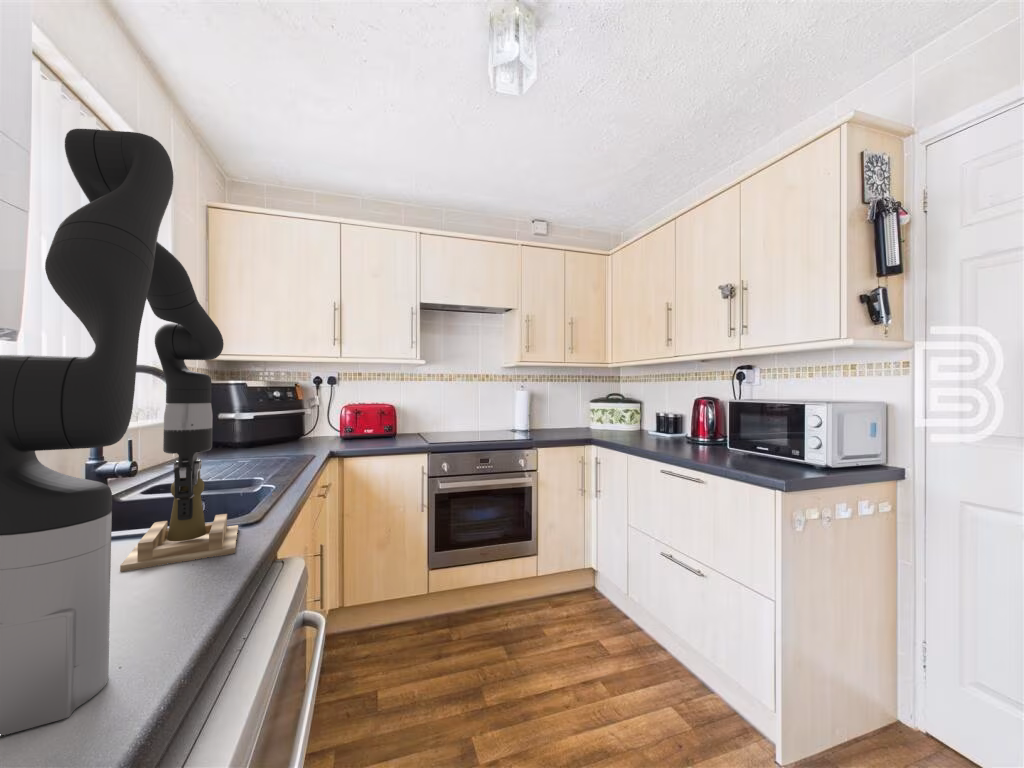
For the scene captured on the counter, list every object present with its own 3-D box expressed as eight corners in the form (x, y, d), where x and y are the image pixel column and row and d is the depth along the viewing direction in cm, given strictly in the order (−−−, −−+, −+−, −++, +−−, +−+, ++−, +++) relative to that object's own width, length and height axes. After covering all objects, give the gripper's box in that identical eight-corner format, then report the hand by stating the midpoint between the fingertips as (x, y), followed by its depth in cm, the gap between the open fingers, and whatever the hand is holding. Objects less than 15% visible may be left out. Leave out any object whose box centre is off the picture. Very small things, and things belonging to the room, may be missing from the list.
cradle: (234, 553, 80) (234, 531, 80) (120, 571, 71) (120, 547, 72) (238, 529, 93) (238, 511, 93) (142, 542, 85) (143, 522, 85)
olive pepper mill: (177, 532, 85) (177, 475, 85) (211, 529, 86) (212, 474, 86) (159, 542, 79) (160, 482, 79) (197, 539, 80) (198, 480, 80)
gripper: (208, 428, 79) (207, 522, 78) (215, 424, 91) (214, 505, 90) (156, 430, 75) (154, 529, 74) (170, 425, 87) (169, 510, 87)
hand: (187, 515), depth 82 cm, fingers closed on olive pepper mill, 4 cm apart
